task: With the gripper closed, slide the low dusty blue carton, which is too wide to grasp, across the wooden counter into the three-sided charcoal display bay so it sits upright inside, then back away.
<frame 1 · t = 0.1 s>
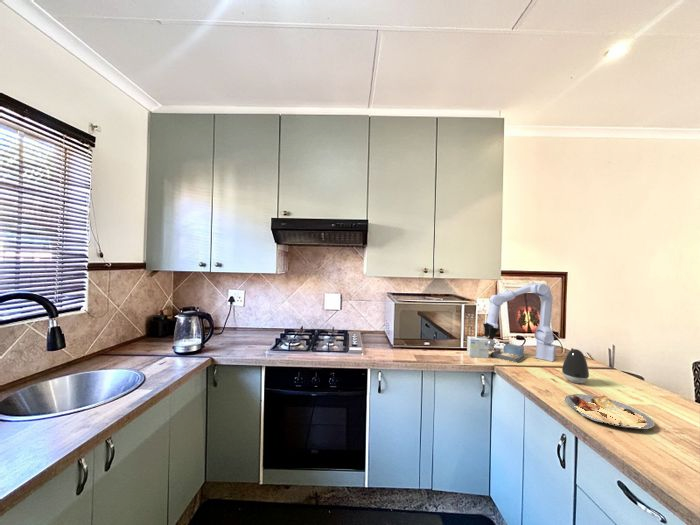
hand: (488, 337, 182), 10 cm above the worktop, tool pointing down, fingers open, 7 cm apart
dark grey rounded dome: (574, 381, 145), on the worktop
carton: (513, 353, 188), on the worktop
light bulb box: (477, 356, 180), on the worktop
food plate: (605, 415, 113), on the worktop
grey metal canister: (490, 349, 195), on the worktop
display bay: (507, 357, 180), on the worktop
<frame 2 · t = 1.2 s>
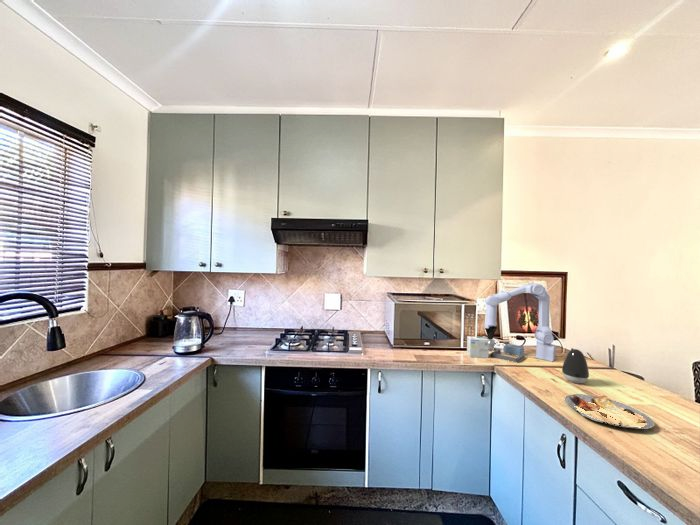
hand: (490, 338, 184), 9 cm above the worktop, tool pointing down, fingers closed
nothing on the worktop moved.
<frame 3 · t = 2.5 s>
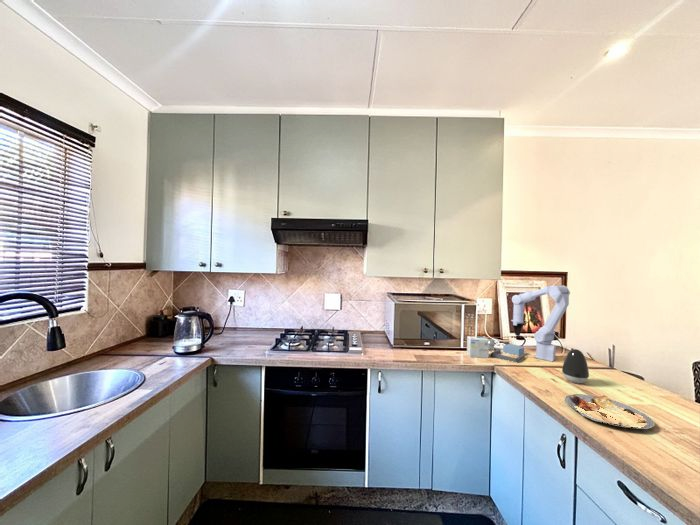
hand: (517, 335, 196), 9 cm above the worktop, tool pointing down, fingers closed
nothing on the worktop moved.
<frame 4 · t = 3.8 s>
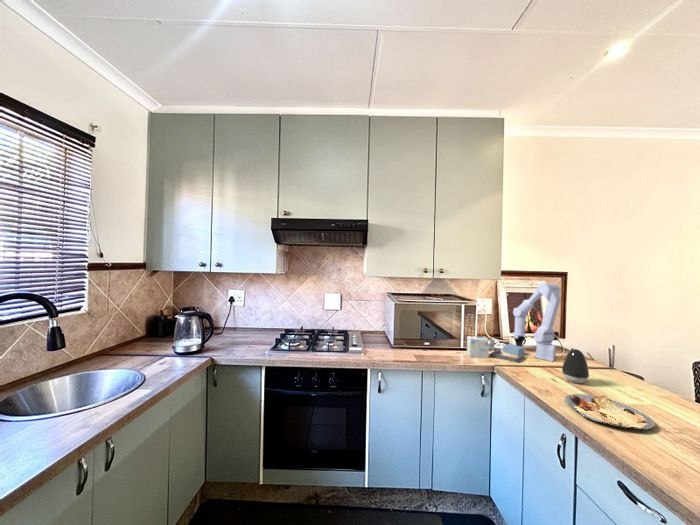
hand: (518, 347, 197), 1 cm above the worktop, tool pointing down, fingers closed
nothing on the worktop moved.
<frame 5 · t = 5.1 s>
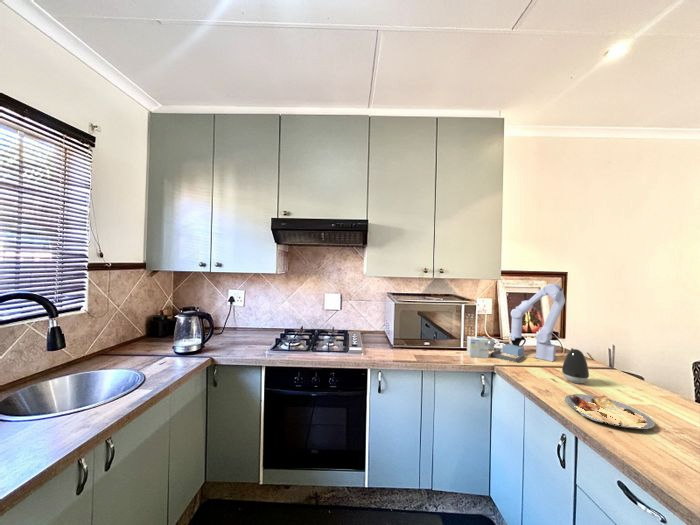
hand: (515, 349, 191), 1 cm above the worktop, tool pointing down, fingers closed
carton: (512, 353, 187), on the worktop, touching gripper
everything else where it was.
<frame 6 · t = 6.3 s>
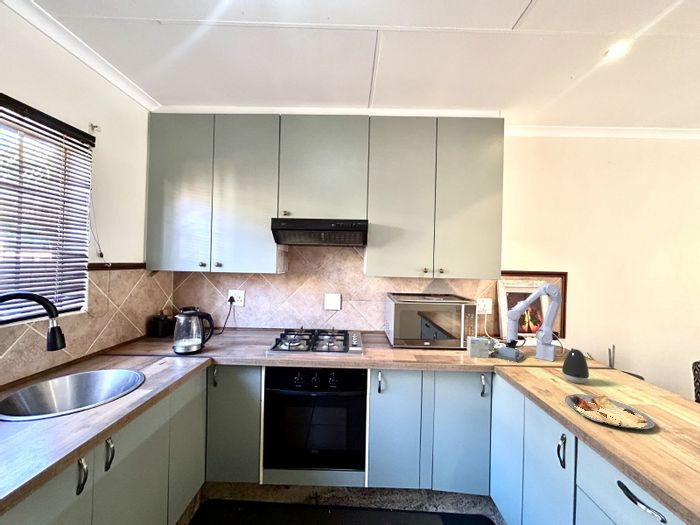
hand: (511, 352, 185), 1 cm above the worktop, tool pointing down, fingers closed
carton: (508, 356, 181), on the worktop, touching gripper
everything else where it was.
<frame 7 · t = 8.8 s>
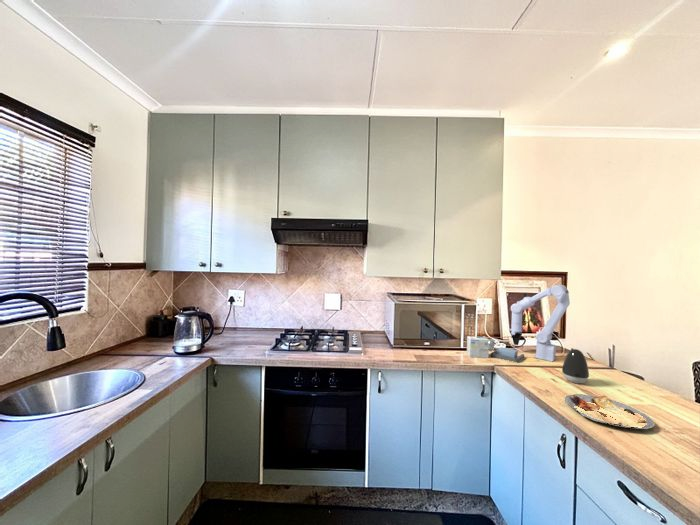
hand: (516, 344, 191), 5 cm above the worktop, tool pointing down, fingers closed
carton: (507, 357, 180), on the worktop
everything else where it was.
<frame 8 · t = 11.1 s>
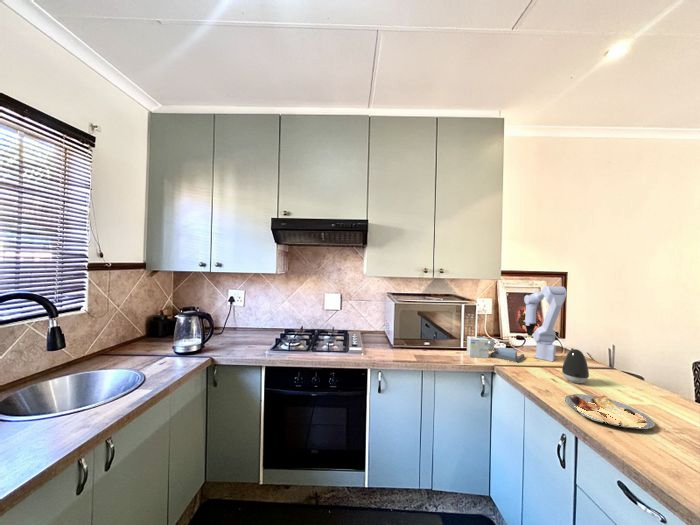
hand: (529, 335, 196), 9 cm above the worktop, tool pointing down, fingers closed
nothing on the worktop moved.
at the end: carton 0.6 cm from the target spot, on the worktop; carton tilted 0°; the gripper is holding nothing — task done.
